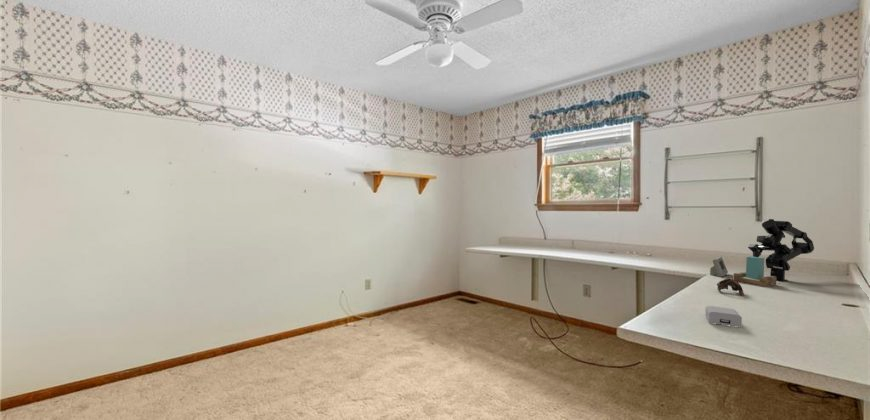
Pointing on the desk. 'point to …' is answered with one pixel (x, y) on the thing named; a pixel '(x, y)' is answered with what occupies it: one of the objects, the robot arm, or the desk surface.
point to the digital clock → (718, 267)
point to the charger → (723, 316)
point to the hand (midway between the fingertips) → (762, 260)
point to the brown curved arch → (732, 283)
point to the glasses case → (754, 267)
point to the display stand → (755, 280)
